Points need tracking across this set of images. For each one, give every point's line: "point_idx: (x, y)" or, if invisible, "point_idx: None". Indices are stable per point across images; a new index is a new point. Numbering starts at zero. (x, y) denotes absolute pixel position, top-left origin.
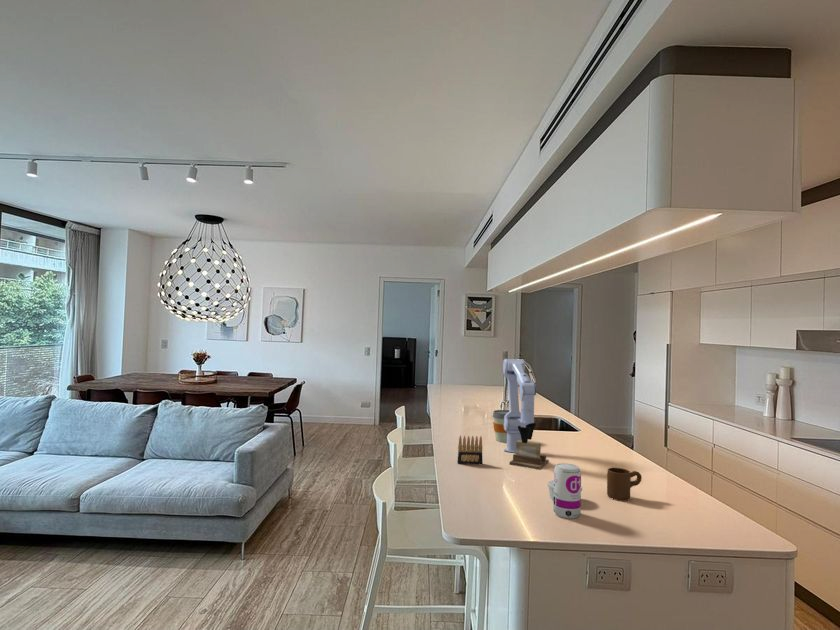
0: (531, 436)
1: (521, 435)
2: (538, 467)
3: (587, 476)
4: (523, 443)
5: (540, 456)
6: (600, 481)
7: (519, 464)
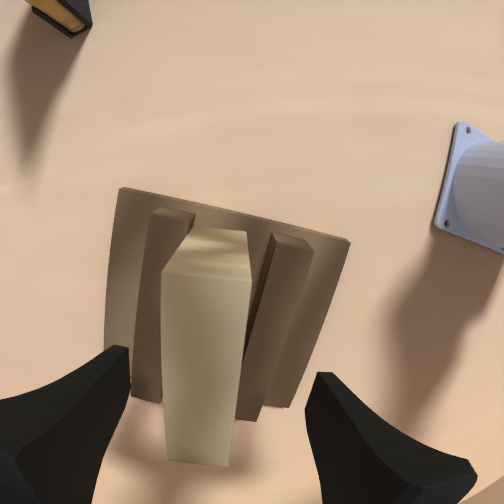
0: (309, 437)
1: (62, 386)
2: None
3: (132, 488)
4: (163, 345)
5: None
6: (105, 499)
7: (110, 259)
